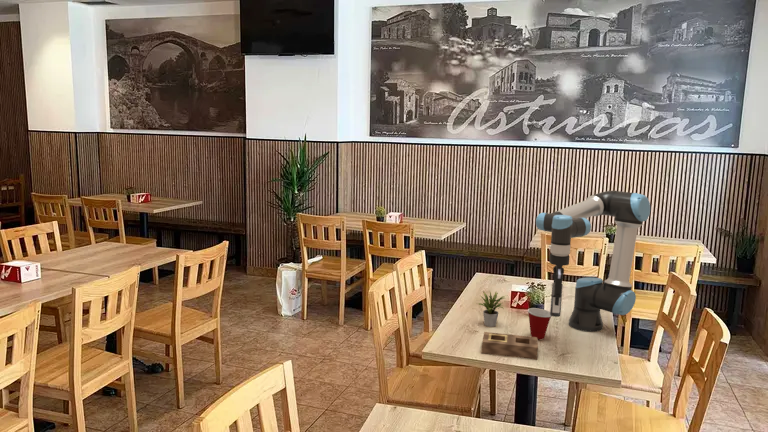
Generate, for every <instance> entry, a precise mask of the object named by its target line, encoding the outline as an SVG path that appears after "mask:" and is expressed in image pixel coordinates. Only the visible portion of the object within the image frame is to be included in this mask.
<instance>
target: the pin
mask: <svg viewBox="0 0 768 432" xmlns="http://www.w3.org/2000/svg"><path fill="white" fill-rule="evenodd" d="M563 287H564V286H563V283H562V289H561V299H560V312H559V313H552V310H553V297H552V295H554V288H555V283H554V282H552V283H551V297H550V298H551V299H550V311H549V312H550V315H551V316H552V317H556V318H558V317H561V312H562V299H563V298H562V296H563Z"/></svg>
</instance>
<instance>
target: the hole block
mask: <svg viewBox="0 0 768 432" xmlns="http://www.w3.org/2000/svg"><path fill="white" fill-rule="evenodd" d="M538 343H539V342H538V339H537V337H531V336H525V335H518V334H508V333H499V332H489V331H484V332H483V336H482V341H481V354H483V355H484V354H485V355H492V356H493V355H494V356H501V357H502V356H503V357H510V358H518V359H519V358H520V359H528V360H538V353H539V350H538V349H539V344H538Z"/></svg>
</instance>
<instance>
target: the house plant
mask: <svg viewBox="0 0 768 432" xmlns="http://www.w3.org/2000/svg"><path fill="white" fill-rule="evenodd" d="M498 294H499V292H497V291H495V292H494V295H493V296H492V293H491V291H489V295H488V294H486V292H485V291H483V295H484V297H483V296H482V295H480V297H481V299H482V300H483V301H484V302H483V303H478V304H477V305H480V306H483V307H485V310H483V311H482V314H483V315H482V316H483V323H484V326H485V327H488V328H493V327H496V326H497V321H498V315H499V311H497V310H499V309H500V308H501V309H504V306H502V302H501V300H503V299H506V298H505V295H502V296H501V297H499V298H498V299H497V297H498ZM506 297H508V295H506ZM499 302H500V303H499Z"/></svg>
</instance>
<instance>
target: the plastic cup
mask: <svg viewBox="0 0 768 432" xmlns="http://www.w3.org/2000/svg"><path fill="white" fill-rule="evenodd" d="M527 313H528V321H529V330H530V337H537V341H538V340H542V341H543V340H544V339H545V337H546V334H547V333H546V332H547V330H548V326H549V324H550V320H551V319H552V317H553V316H551V315H550V311H549V310H546V309H542V308H538V307H537V308H536V307H531V308H528V309H527Z"/></svg>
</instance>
